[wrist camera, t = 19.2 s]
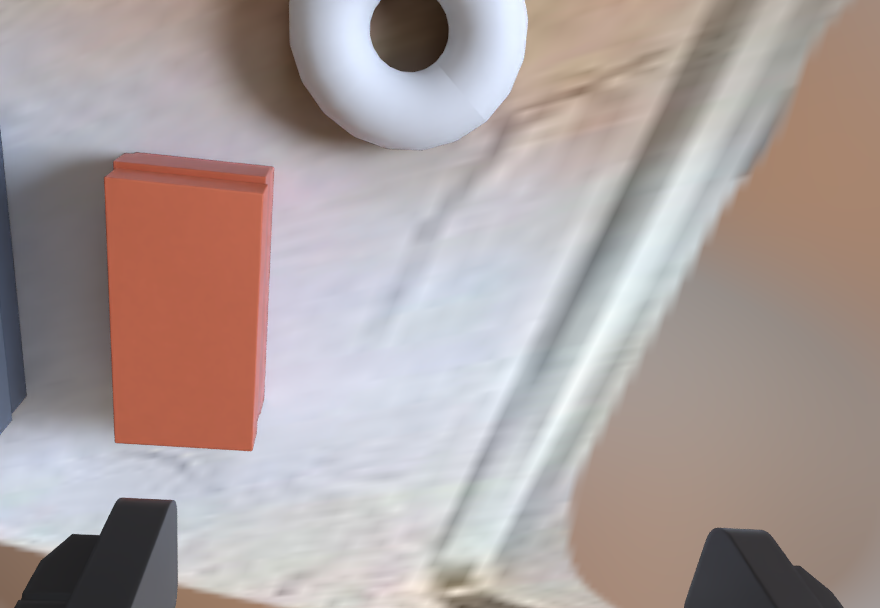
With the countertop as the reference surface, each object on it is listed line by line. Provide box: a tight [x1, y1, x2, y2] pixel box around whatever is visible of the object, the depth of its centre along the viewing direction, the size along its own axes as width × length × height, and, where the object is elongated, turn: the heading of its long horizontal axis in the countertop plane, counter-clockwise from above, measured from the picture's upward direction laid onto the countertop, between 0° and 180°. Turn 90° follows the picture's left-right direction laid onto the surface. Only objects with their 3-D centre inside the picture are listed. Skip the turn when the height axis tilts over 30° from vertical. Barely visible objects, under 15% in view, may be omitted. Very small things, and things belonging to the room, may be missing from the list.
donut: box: [289, 0, 528, 150], centre depth 31 cm, size 10×4×10 cm
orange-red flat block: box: [113, 152, 274, 421], centre depth 35 cm, size 13×6×3 cm, turn 173°
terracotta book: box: [104, 168, 268, 451], centre depth 33 cm, size 12×6×2 cm, turn 172°
